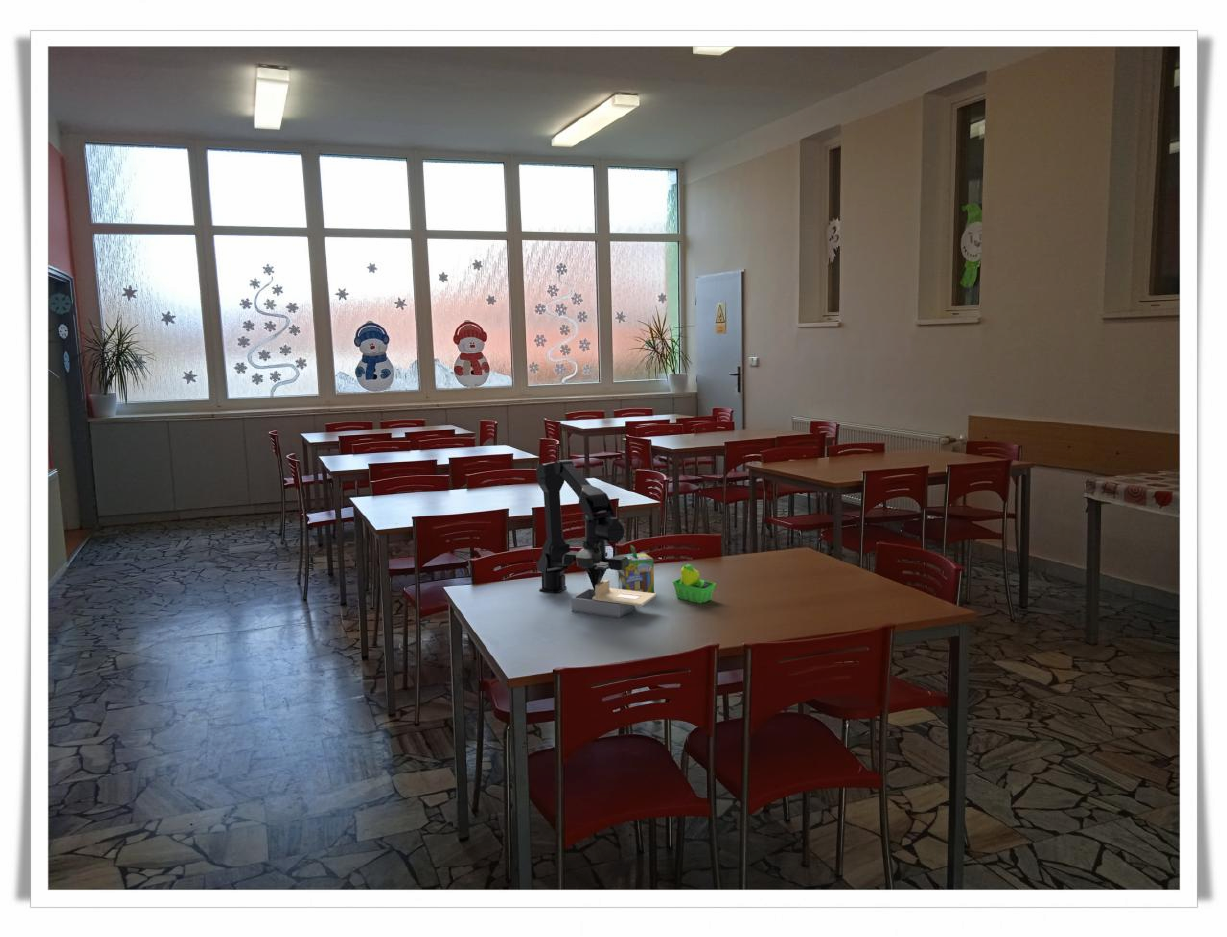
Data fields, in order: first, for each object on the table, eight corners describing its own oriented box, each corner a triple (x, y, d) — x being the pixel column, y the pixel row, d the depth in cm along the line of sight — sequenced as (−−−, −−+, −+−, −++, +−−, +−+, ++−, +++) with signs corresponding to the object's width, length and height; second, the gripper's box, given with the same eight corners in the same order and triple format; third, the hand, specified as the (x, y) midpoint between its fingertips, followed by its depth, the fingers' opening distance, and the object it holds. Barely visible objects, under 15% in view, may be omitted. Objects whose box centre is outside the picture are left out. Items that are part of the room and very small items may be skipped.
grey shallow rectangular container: (571, 611, 242) (571, 598, 241) (588, 601, 252) (588, 588, 251) (619, 618, 236) (619, 604, 235) (635, 607, 245) (635, 594, 245)
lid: (592, 599, 238) (592, 587, 238) (608, 589, 248) (608, 577, 248) (641, 606, 232) (641, 593, 232) (656, 595, 242) (656, 583, 242)
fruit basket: (716, 600, 253) (717, 563, 251) (698, 606, 246) (699, 568, 245) (686, 592, 260) (687, 556, 259) (668, 598, 254) (668, 562, 253)
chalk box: (654, 596, 257) (654, 548, 254) (625, 598, 254) (625, 550, 252) (646, 588, 265) (646, 541, 263) (617, 590, 263) (617, 543, 261)
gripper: (553, 539, 238) (553, 593, 240) (613, 545, 230) (613, 600, 233) (571, 531, 248) (571, 583, 250) (629, 537, 241) (629, 590, 243)
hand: (595, 589), depth 244 cm, fingers closed
